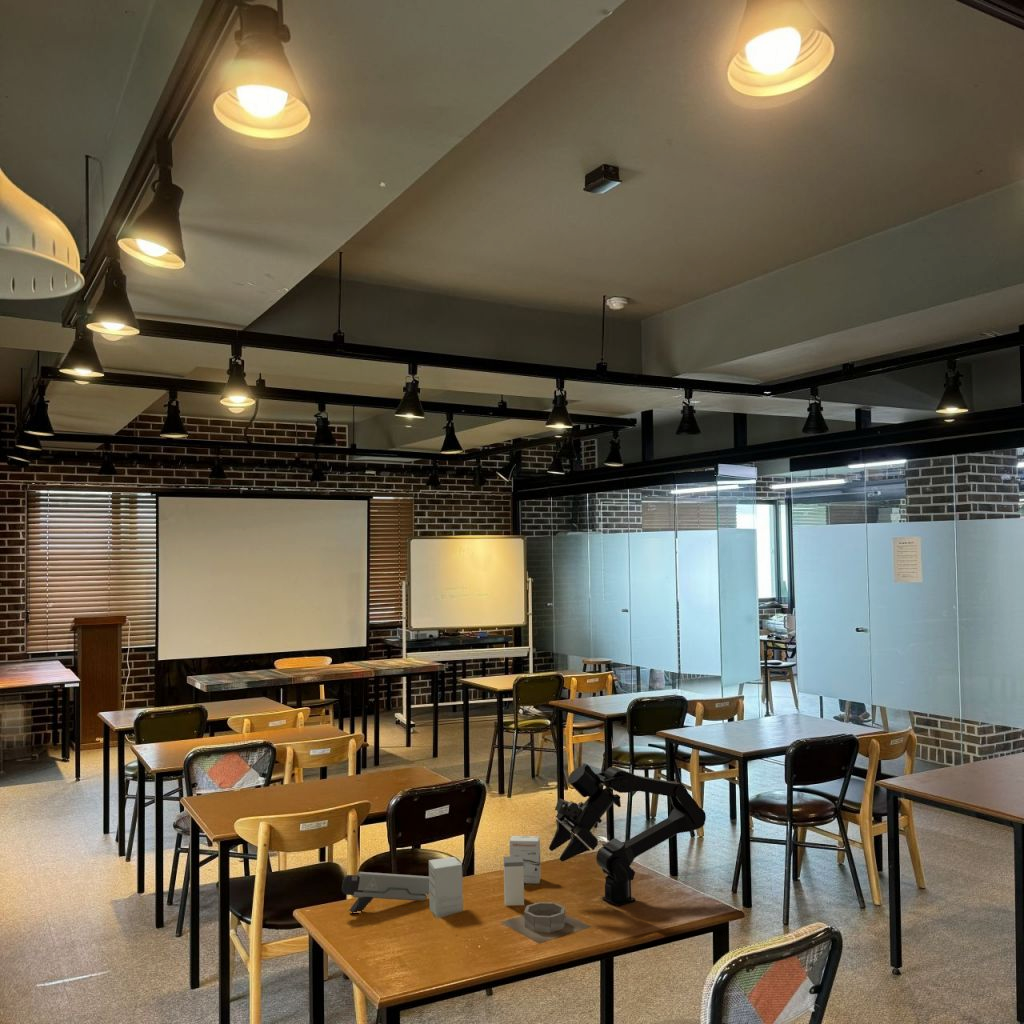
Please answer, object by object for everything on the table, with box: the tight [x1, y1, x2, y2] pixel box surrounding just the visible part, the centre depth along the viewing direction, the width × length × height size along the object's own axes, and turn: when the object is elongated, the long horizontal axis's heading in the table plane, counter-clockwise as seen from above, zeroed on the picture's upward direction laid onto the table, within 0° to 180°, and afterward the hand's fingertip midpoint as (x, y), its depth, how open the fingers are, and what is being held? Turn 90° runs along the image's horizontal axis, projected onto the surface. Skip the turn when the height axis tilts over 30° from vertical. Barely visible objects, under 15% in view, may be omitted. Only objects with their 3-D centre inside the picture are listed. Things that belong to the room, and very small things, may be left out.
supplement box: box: [428, 856, 464, 919], centre depth 228 cm, size 7×7×13 cm
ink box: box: [509, 835, 542, 884], centre depth 250 cm, size 9×5×12 cm, turn 84°
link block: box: [503, 856, 525, 907], centre depth 231 cm, size 5×5×12 cm
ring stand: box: [499, 901, 592, 944], centre depth 215 cm, size 16×16×5 cm
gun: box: [341, 871, 429, 913], centre depth 232 cm, size 2×25×10 cm, turn 117°
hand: (555, 855), depth 229 cm, fingers open, 9 cm apart
